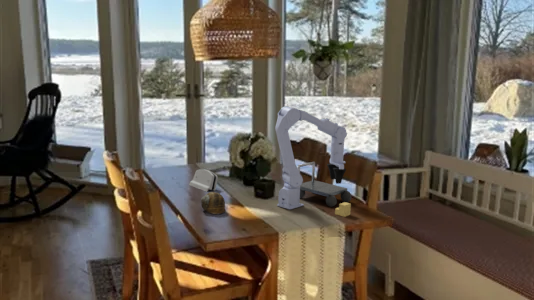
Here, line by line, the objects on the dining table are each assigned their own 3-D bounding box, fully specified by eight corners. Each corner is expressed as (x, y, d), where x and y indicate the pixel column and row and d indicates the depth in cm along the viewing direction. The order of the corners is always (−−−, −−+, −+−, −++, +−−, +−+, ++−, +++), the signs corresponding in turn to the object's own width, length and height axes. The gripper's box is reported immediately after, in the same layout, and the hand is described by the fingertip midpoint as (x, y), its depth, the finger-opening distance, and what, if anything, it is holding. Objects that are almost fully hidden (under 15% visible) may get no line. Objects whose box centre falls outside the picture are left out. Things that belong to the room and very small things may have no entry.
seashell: (197, 209, 214) (197, 191, 213) (215, 205, 220) (215, 188, 218) (210, 216, 206) (210, 197, 204) (229, 212, 211) (229, 194, 210)
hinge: (188, 184, 254) (194, 166, 254) (196, 186, 257) (201, 167, 258) (207, 192, 242) (212, 172, 242) (214, 193, 245) (220, 174, 245)
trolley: (333, 208, 220) (335, 173, 217) (293, 196, 236) (294, 164, 233) (352, 202, 230) (353, 169, 227) (312, 191, 246) (313, 160, 243)
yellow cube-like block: (344, 217, 209) (345, 205, 208) (334, 214, 212) (335, 202, 211) (350, 215, 211) (350, 203, 210) (340, 212, 215) (341, 201, 214)
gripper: (351, 155, 219) (349, 185, 222) (340, 149, 233) (338, 177, 236) (335, 155, 218) (334, 185, 220) (325, 149, 232) (324, 177, 234)
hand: (335, 181), depth 228 cm, fingers open, 7 cm apart
